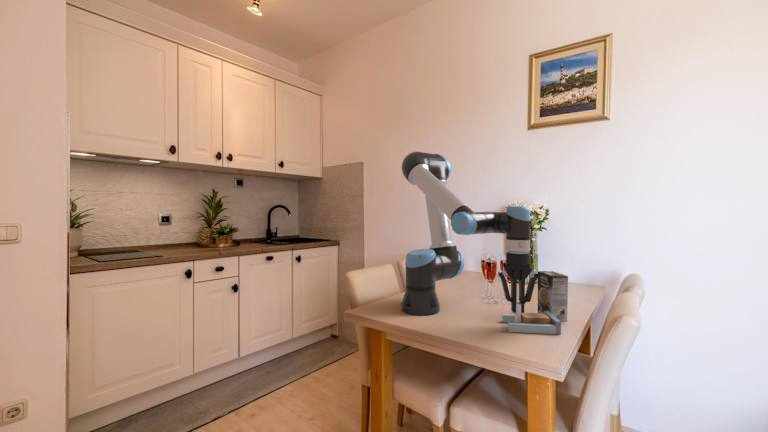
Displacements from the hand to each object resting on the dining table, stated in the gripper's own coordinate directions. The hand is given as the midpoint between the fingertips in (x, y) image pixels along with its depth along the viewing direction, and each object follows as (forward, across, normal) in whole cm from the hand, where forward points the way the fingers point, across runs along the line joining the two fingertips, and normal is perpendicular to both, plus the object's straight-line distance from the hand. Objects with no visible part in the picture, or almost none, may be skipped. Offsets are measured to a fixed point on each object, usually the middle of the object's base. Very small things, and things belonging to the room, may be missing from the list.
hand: (517, 322), depth 109 cm
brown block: (+2, +5, -1) cm, 5 cm away
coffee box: (+2, +15, +12) cm, 19 cm away
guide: (+2, +3, 0) cm, 3 cm away
